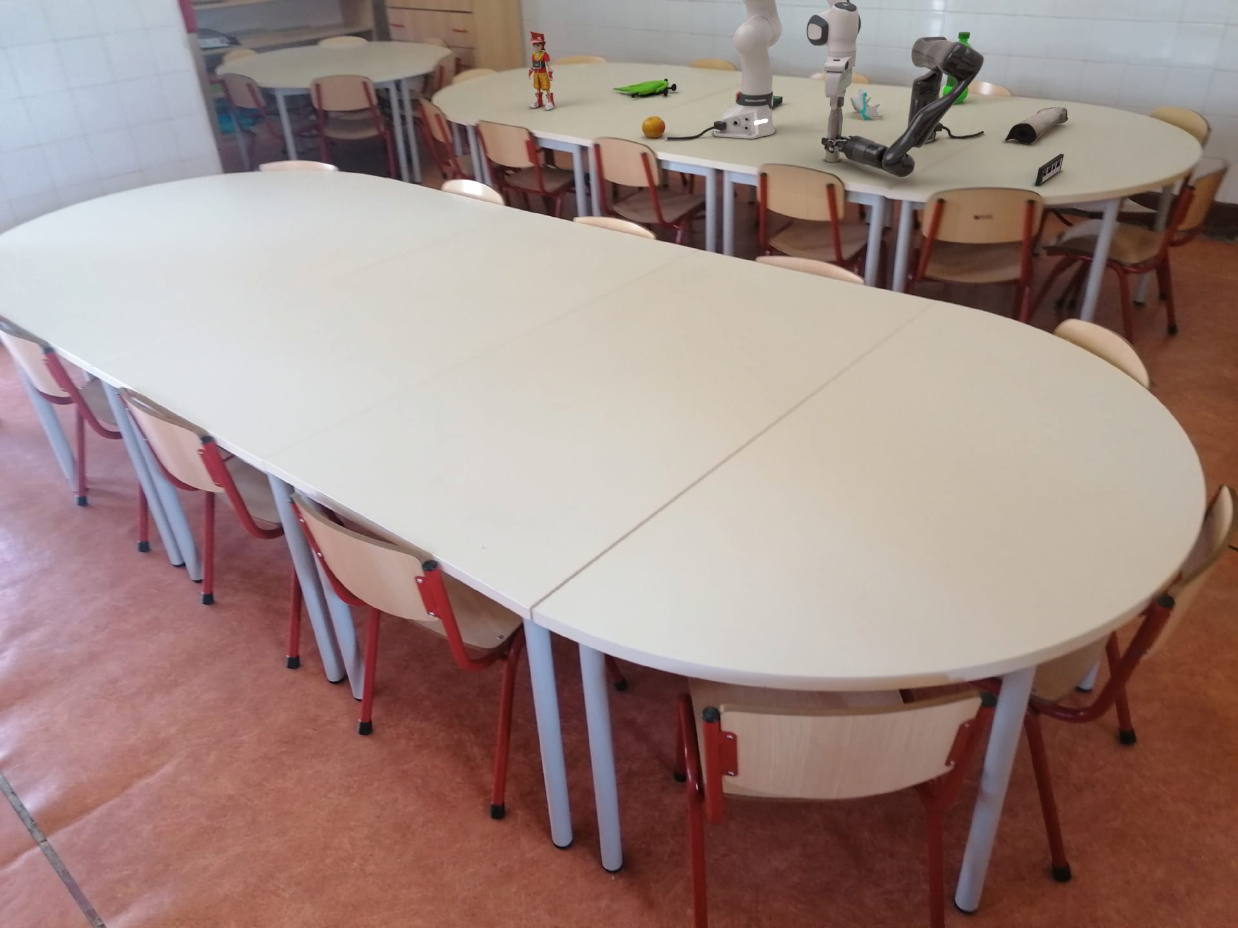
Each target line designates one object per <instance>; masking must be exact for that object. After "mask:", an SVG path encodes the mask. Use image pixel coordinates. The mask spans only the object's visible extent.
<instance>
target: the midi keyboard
mask: <svg viewBox="0 0 1238 928" xmlns="http://www.w3.org/2000/svg"><path fill="white" fill-rule="evenodd" d="M1064 157H1065V153H1059V154H1058V155H1056V156H1055V157H1052V159H1051V160H1049V161H1047V162H1045V164H1042V165H1041V166H1039V167H1038V169H1037V175H1036V179H1035V186H1040V185H1042V183H1044V182H1045V181H1047V180H1048V179H1049V178H1051V177H1052V176H1054V175H1055V174H1056V173H1058V172H1060V171H1061V170H1062V165H1063V161H1064Z"/></svg>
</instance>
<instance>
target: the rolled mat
mask: <svg viewBox="0 0 1238 928" xmlns="http://www.w3.org/2000/svg"><path fill="white" fill-rule="evenodd" d="M1068 115H1069V114H1068V109H1067V108H1066V107H1060V106H1052V107H1047V108H1041V109H1039V110H1037V113H1035V114H1034V115H1031V116H1029V117H1027V118H1025V119H1023V120H1021V121H1019V122H1017V123H1016V124H1014V125H1013V126H1012V127H1011V128H1010V130H1009V131H1008V134H1007V135H1006V137H1005V138H1004V142H1009V141H1010V140H1011V141H1012V140H1016V141H1017V142H1018V143H1020V144H1023V145H1024V144H1025V145H1033V144H1034V143H1035V142H1036V141H1037V140H1038V139H1039V138H1040V137H1041V136H1042V135H1043V134H1044V133H1045V132H1046V131H1048V130H1049V129H1050V128H1052V127H1053V126H1054V125H1060V124H1065V123H1066V122H1068V121H1069V117H1068Z"/></svg>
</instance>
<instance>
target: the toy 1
mask: <svg viewBox="0 0 1238 928" xmlns="http://www.w3.org/2000/svg"><path fill="white" fill-rule="evenodd" d="M529 33H530V35H531V36H528V37H527V38H528V39H529V40H528V41H527V43H529V44H530V43H531V44H532V48H533V50H534V51H533V52H532V55H531V58H530V59H531V63H530V66H528V74H527V75H528V76H527V77H528V79H529V80H531V75H532V74H533V84H532V85H533V86H532V87H533V88H534V89H535V90H536V92H534V95H535V97H536V100H535V101H533V102H531V105H530V108H531V109H535V108H538V107H542V106H544V101H543V100H544V99H543V95H544V92H546V94H545V97H546V99H547V103H546V104H545V106H544V110H546V111H549V110H553V109H554V107H555V106H556V105H555V99H554V92H551V91H550V90H551V86H552V84H551V82H552V81H553V80H554V77H553V73H554V71H555V70H554V69H552V68H551V63H550V61H551V59H550V58H551V57H550V54H549V53H548V52H547V50H546V48H545V46H546V44H547V41H545V35H544V33H543V32H542V33H539V32H535V31H529Z"/></svg>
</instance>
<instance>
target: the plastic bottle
mask: <svg viewBox="0 0 1238 928" xmlns="http://www.w3.org/2000/svg"><path fill="white" fill-rule="evenodd" d="M970 36H971V32H970V31H959V32H958V36H957V39H958V42H962V43H965V44H966V45H968V46H969V47H971V48H972V49H974V47H972V45H971V44H970V43H969V42H968V41H969V39H970V38H971V37H970ZM946 77H947V78H946V84H945V85H944V87H943V90H942V96H944V95H945V94H947V93H948V92H949V91H950V90H951V89H952V88H953V87H954V85H955V84H956V81H955V80H954V79H952V78H950V77H949V76H946ZM968 95H969V86H968V87H967V88H966V90H965V91H964V92H963V93H962V94H961V96H960V97H959V98H958V99H957V101H956V102H955V103H954V104H960V103H961V102H963V101H964V100H966V98H967V96H968Z"/></svg>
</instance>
